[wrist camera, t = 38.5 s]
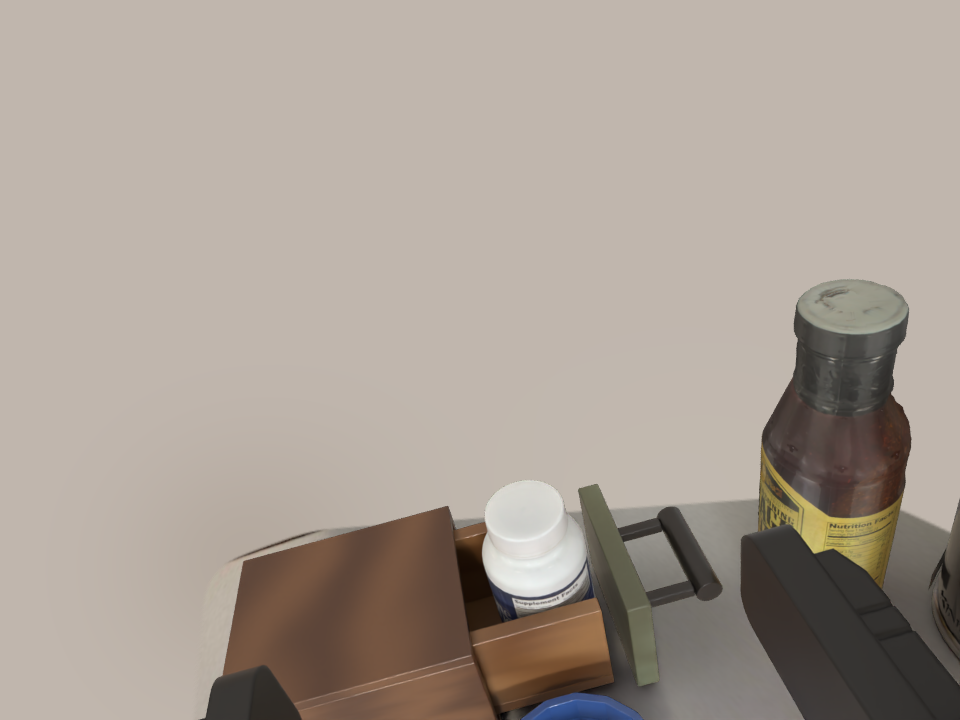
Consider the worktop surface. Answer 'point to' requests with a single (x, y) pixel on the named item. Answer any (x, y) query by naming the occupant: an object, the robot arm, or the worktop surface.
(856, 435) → the sauce bottle
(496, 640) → the drawer
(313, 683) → the cabinet
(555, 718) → the bowl
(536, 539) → the pill bottle
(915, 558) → the worktop surface
